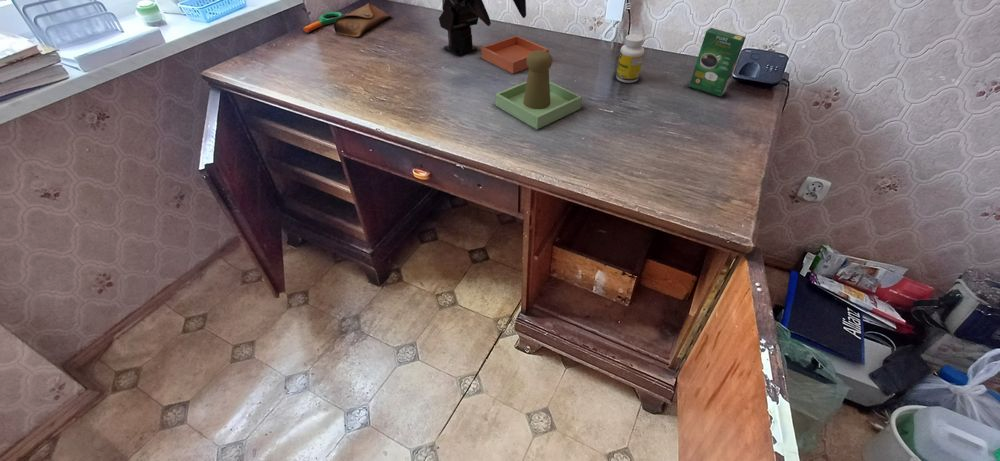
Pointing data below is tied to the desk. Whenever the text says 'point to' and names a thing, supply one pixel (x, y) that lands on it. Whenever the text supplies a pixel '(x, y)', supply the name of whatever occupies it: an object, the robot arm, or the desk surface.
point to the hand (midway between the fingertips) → (507, 20)
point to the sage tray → (537, 118)
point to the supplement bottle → (630, 59)
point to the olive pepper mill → (538, 80)
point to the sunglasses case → (360, 21)
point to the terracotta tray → (510, 53)
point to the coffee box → (716, 61)
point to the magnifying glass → (323, 21)
